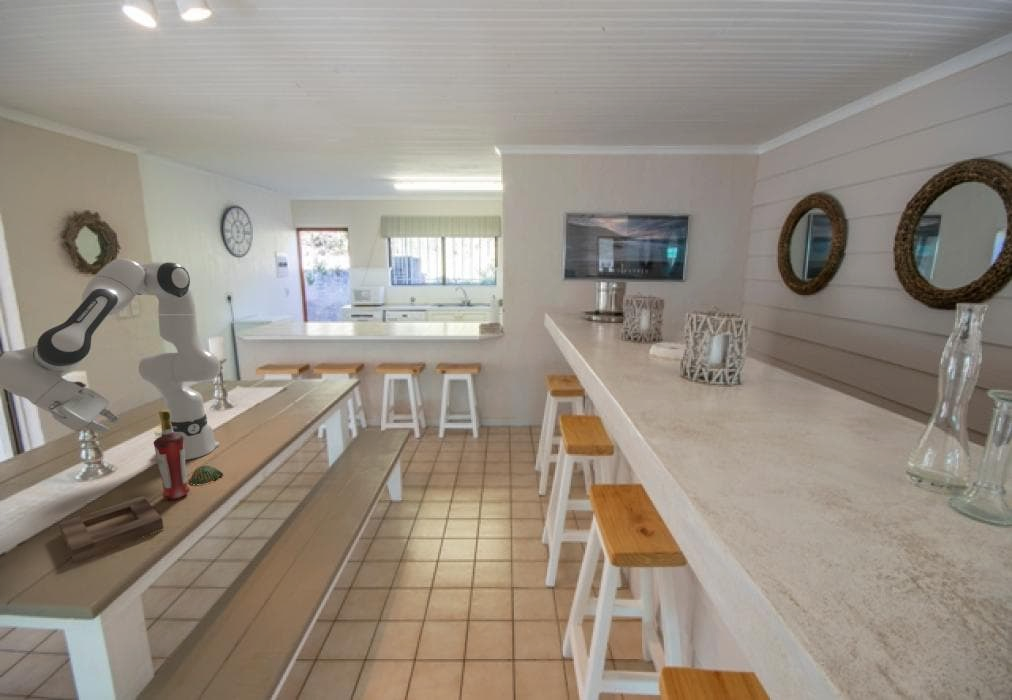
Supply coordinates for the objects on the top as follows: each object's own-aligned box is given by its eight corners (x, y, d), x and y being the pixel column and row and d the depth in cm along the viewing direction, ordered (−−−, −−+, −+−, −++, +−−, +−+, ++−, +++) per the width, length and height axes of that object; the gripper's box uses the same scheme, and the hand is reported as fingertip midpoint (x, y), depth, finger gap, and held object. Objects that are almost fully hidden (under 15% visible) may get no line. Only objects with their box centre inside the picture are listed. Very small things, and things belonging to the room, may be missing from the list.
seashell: (192, 476, 144) (183, 467, 150) (193, 489, 145) (183, 479, 151) (227, 468, 152) (217, 460, 158) (227, 480, 152) (217, 471, 159)
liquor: (159, 496, 140) (146, 411, 134) (187, 487, 145) (175, 405, 139) (165, 505, 135) (152, 417, 129) (194, 495, 140) (182, 411, 135)
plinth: (61, 534, 120) (59, 522, 119) (145, 506, 134) (143, 496, 133) (74, 563, 109) (71, 550, 108) (163, 529, 123) (161, 518, 122)
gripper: (55, 399, 114) (111, 429, 121) (83, 380, 132) (130, 407, 138) (35, 418, 113) (92, 447, 120) (65, 396, 131) (114, 423, 137)
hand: (112, 425), depth 129 cm, fingers open, 8 cm apart
